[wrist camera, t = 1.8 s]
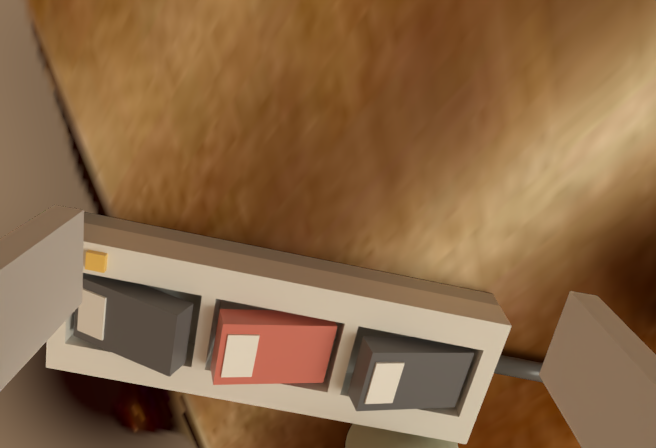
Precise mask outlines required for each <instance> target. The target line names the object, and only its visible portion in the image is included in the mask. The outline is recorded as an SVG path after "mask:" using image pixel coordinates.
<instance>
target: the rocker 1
mask: <svg viewBox="0 0 656 448" xmlns="http://www.w3.org/2000/svg"><path fill="white" fill-rule="evenodd" d="M192 311H193V303H190V302H188V301H185V300H183V299H180V298H177V297H175V296H172V295H170V294H167V293H164V292H162V291H159V290H156V289H154V288H151V287H149V286H146V285H143V284H138V283H133V282H128V281H123V280H118V279H113V278H107V277H102V276H97V275H92V274H87V273H83V293H82V303H81V304H80V306H79V307H78V308H77V309H76V310H75V316H74V334H73V336H75V337H77V338H79V339H82V340H84V341H86V342H89V343H91V344H93V345H96V346H98V347H101V348H103V349H105V350H108V351H110V352H112V353H115V354H117V355H119V356H122V357H124V358H126V359H129V360H131V361H133V362H136V363H138V364H140V365H143V366H145V367H147V368H150V369H152V370H155V371H157V372H159V373H162V374H164V375H166V376H169V377H170V376H171V375H172V374H173V373H174V372H175V371H177V370H178V369H179V368H180V367H181V366H182V365H183V364H184V363H185V360H186V353H187V346H188V339H189V332H190V325H191V318H192Z"/></svg>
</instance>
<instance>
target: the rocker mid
mask: <svg viewBox="0 0 656 448" xmlns="http://www.w3.org/2000/svg"><path fill="white" fill-rule="evenodd" d="M336 330H337V325H336V323H335V322H334V321H329V320H324V319H319V318H313V317H308V316H303V315H298V314H293V313H288V312H283V311H277V310H244V309H220V311H219V317H218V323H217V330H216V336H215V342H214V348H213V354H212V361H211V367H210V368H211V375H212V381H213V385H233V384H282V383H323V382H324V378H325V374H326V370H327V366H328V362H329V358H330V354H331V350H332V346H333V342H334V338H335V334H336Z"/></svg>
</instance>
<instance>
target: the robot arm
mask: <svg viewBox="0 0 656 448" xmlns="http://www.w3.org/2000/svg"><path fill="white" fill-rule="evenodd" d="M83 240H84V210H82V209H77V208H71V207H64V206H59V205H53V206H52V207H50V208H48V209H47V210H45V211H44V212H42V213H41V214H39V215H37V216H36V217H34V218H32V219H31V220H29V221H28V222H26V223H24V224H23V225H21V226H20V227H18V228H17V229H15V230H13V231H12V232H10V233H8V234H7V235H5V236H4V237H2V238H1V239H0V391H1V390H2V389H3V388H4V387H5V386H6V384H8V382H9V381H10V380H11V379H12V378H13V377H14V376H15V375H16V374H17V373H18V371H20V369H21V368H22V367H23V366H24V365H25V364H26V363H27V362H28V361H29V360H30V359H31V358H32V356H33V355H34V354H35V353H36V352H37V351H38V350H39V349H40V348H41V347H42V346H43V345H44V343H45V342H46V341H47V340H48V339H49V338H50V337H51V336H52V335H53V334H54V333H55V332H56V330H57V329H58V328H59V327H60V326H61V325H62V324H63V323H64V322H65V321H66V320H67V319H68V317H69V316H70V315H71V314H72V313H73V312H74V311H75V310H76V309H77V308H78V307H79V306H80V304H81V303H82V293H83ZM539 376H540V378H541V379H542V381H543V383H544V385H545V386H546V388H547V390H548V391H549V393H550V395H551V396H552V398H553V400H554V401H555V403H556V405H557V406H558V408H559V410H560V412H561V413H562V415H563V417H564V418H565V420H566V422H567V423H568V425H569V427H570V428H571V430H572V432H573V434H574V435H575V437H576V439H577V440H578V442H579V444H580V445H581V447H582V448H656V355H655V354H654V353H653V352H652V351H651V350H650V349H649V348H648V347H647V346H646V345H645V344H644V343H643V341H642V340H641V339H640V338H639V337H638V336H637V335H636V334H635V333H634V332H633V331H632V330H631V329H630V328H629V327H628V326H627V325H626V324H625V323H624V322H623V321H622V320H621V319H620V318H619V317H618V316H617V315H616V314H615V313H614V312H613V311H612V310H611V309H610V308H609V307H608V306H607V305H606V304H605V303H604V302H603V301H602V300H601V299H600V298H599V297H598V296H597V295H591V294H585V293H579V292H573V291H570V293H569V295H568V298H567V301H566V303H565V306H564V309H563V311H562V314H561V317H560V319H559V322H558V325H557V327H556V330H555V333H554V335H553V338H552V341H551V343H550V346H549V349H548V352H547V354H546V357H545V360H544V362H543V365H542V368H541V370H540V373H539Z"/></svg>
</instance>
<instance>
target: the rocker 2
mask: <svg viewBox="0 0 656 448" xmlns="http://www.w3.org/2000/svg"><path fill="white" fill-rule="evenodd" d="M473 356H474V352H473V351H472V350H471V348H468V347H463V346H458V345H453V344H447V343H442V342H437V341H432V340H427V339H422V338H417V337H370V336H363V338H362V342H361V345H360V349H359V353H358V356H357V360H356V364H355V367H354V371H353V375H352V378H351V382H350V386H349V389H348V395H349V397H350V399H351V401H352V404H353V406H354V408H355V410H356V411H376V410H400V409H425V408H449V407H455V405H456V402H457V400H458V397H459V394H460V391H461V389H462V386H463V383H464V380H465V378H466V375H467V372H468V369H469V367H470V364H471V361H472V358H473Z"/></svg>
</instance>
